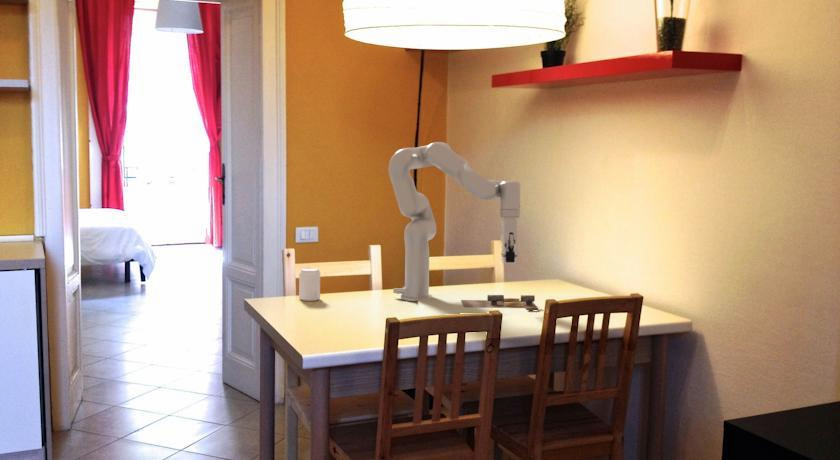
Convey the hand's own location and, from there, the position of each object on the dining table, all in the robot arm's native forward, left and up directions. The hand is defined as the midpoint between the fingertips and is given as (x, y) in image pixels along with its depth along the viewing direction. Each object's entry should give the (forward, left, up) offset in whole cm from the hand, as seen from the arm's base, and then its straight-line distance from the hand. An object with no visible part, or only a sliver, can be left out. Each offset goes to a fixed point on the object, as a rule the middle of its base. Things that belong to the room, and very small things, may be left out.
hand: (509, 260), depth 304 cm
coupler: (0, 0, -1) cm, 1 cm away
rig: (-3, 0, -18) cm, 18 cm away
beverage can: (-76, +10, -18) cm, 79 cm away
